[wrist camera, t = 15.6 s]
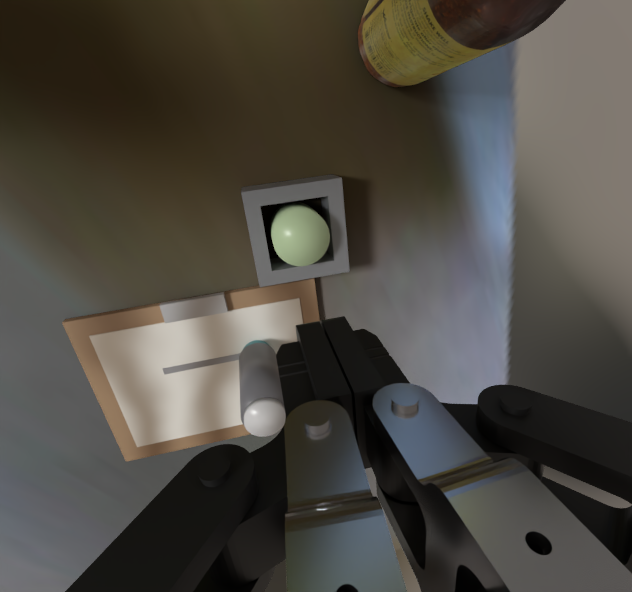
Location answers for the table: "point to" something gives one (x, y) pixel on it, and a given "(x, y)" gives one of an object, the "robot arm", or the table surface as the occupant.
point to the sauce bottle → (440, 34)
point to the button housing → (332, 215)
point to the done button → (299, 234)
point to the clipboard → (183, 362)
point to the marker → (260, 390)
